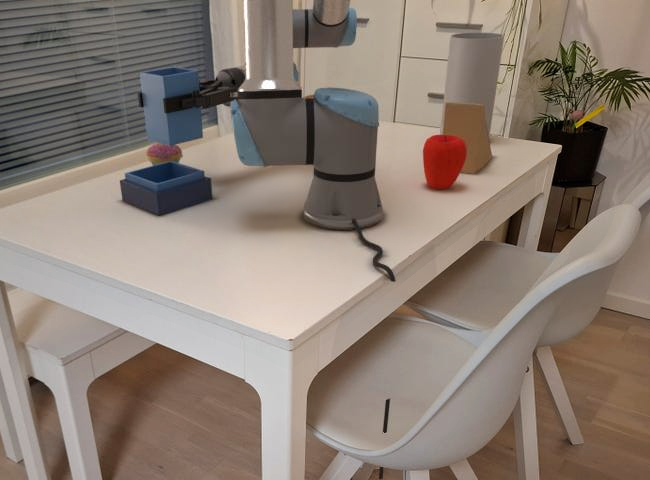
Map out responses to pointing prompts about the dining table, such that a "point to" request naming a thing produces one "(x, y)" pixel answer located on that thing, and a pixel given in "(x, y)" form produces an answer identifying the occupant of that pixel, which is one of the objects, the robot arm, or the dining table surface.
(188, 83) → the lone bin
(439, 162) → the apple
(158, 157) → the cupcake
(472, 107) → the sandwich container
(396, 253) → the dining table surface
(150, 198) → the bin stack
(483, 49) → the cylinder vase
